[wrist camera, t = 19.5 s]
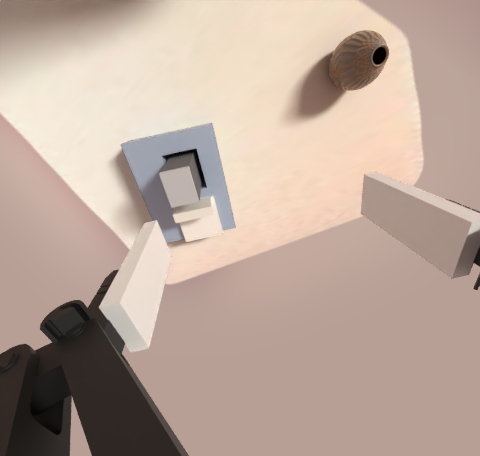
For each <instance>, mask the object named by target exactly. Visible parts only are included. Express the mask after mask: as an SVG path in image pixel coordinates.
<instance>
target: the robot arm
mask: <svg viewBox="0 0 480 456" xmlns="http://www.w3.org/2000/svg"><path fill="white" fill-rule="evenodd" d="M361 214H362V215H364V216H365V217H366V218H368V219H369V220H371V221H372V222H373V223H375V224H376V225H378V226H379V227H380V228H382V229H383V230H385V231H386V232H387V233H389V234H390V235H392V236H393V237H394V238H396V239H397V240H399V241H400V242H401V243H403V244H404V245H405V246H407V247H408V248H410V249H411V250H412V251H414V252H415V253H417V254H418V255H420V256H421V257H422V258H424V259H425V260H426V261H428V262H429V263H431V264H432V265H433V266H435V267H436V268H438V269H439V270H440V271H442V272H443V273H445V274H446V275H447V276H449V277H450V278H456V277H461V276H465V275H469V273H470V271H471V268H472V266H473V263H475V264H477V265H478V266H480V212H479V211H476V210H474V209H470V208H469V207H466V206H464V205H463V206H462V205H461V204H459V203H456V202H454V201H451V200H447V199H443V198H440V197H438V196H436V195H433V194H431V193H428V192H426V191H423V190H421V189H418V188H416V187H413V186H411V185H408V184H406V183H403V182H401V181H398V180H396V179H393V178H391V177H388V176H386V175H384V174H381V173H379V172H372V173H367V174H364V182H363V193H362V205H361ZM171 257H172V255H171V253H170V251H169V248H168V246H167V243H166V241H165V239H164V236H163V234H162V231H161V229H160V227H159V224H158V222H157V220H155V221H151V222H146V223H144V225H143V227H142V229H141V230H140V232H139V234H138V236H137V238H136V240H135V241H134V243H133V245H132V247H131V249H130V251H129V253H128V254H127V256H126V258H125V260H124V262H123V264H122V265H121V267H120V269H119V270H115V271H113V272H112V273H111V274H110V275H109V276H108V277H106V278H105V280H104V282H103V283H102V285H101V286H100V287H101V288H100V289H99V290H98V292H97V295H95V297H94V298H93V300H92V302H91V304H90V305H89V307H88V308H87V307H86V306H85V304H84V303H83V302H82V301H80V300H74V301H70V302H67V303H65V304H63V305H61V306H59V307H57V308H56V309H55V310H53V311H52V312H50V313H49V314H48V315H47V316H46V317H45V318H44V320H43V321H42V323H41V325H40V330H41V331H42V332H43V333H44V334H45V335H46V336H47V337H48V338H49V339H50V340H51V341H52V343H50V344H48V345H46V346H44V347H42V348H40V349H37V350H35V351H34V350H33V349H32V348H31V347H30V346H29V345H27V344H22V345H17V346H15V347H12V348H10V349H9V350H7V351H5V352H3V353H2V354H0V456H70V428H71V427H70V426H71V398H72V397H73V400H74V403H75V406H76V409H77V412H78V415H79V418H80V421H81V424H82V427H83V430H84V433H85V436H86V439H87V442H88V445H89V448H90V451H91V454H92V456H189V455H188V454H187V452H186V451H185V449H184V448H183V446H182V445H181V443H180V442H179V440H178V438H177V437H176V435H175V434H174V432H173V431H172V429H171V428H170V426H169V425H168V423H167V422H166V420H165V419H164V417H163V416H162V414H161V412H160V411H159V409H158V408H157V406H156V405H155V403H154V402H153V400H152V399H151V397H150V396H149V394H148V393H147V391H146V390H145V388H144V386H143V385H142V383H141V382H140V380H139V379H138V377H137V376H136V374H135V373H134V371H133V370H132V368H131V367H130V365H129V364H128V362H127V360H126V359H125V358H124V356H123V355H122V351H123V348H124V345H126V346H127V348H128V349H129V350H130V352H135V351H139V350H143V349H148V348H149V346H150V342H151V338H152V333H153V330H154V326H155V322H156V317H157V314H158V310H159V305H160V301H161V297H162V293H163V289H164V285H165V281H166V277H167V273H168V269H169V265H170V261H171ZM479 286H480V274H479V276H478V278H477V281H476V283H475V286H474V289H475V290H477V289H478V287H479Z"/></svg>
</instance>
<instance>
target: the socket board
mask: <svg viewBox="0 0 480 456" xmlns="http://www.w3.org/2000/svg"><path fill="white" fill-rule="evenodd" d="M121 147H122V149H123V152H124V154H125V156H126V159H127V161H128V163H129V166H130V168H131V170H132V173H133V175H134V177H135V180H136V182H137V185H138V187H139V189H140V192H141V194H142V196H143V199H144V201H145V203H146V206H147V208H148V210H149V213H150V215H151V217H152V220H153V221H155V220H157V222H158V224H159V227H160V229H161V231H162V234H163V236H164V239H165V241H166V243H169V242H173V241H178V240H182V239H185V237H184V234H183V232H182V229H181V226H180V223H175V220H174V217H173V212H174V207H173V208H171V205H170V202H169V200H168V197H167V194H166V192H165V189H164V186H163V183H162V181H161V178H160V175H159V171H160V170H161V168H162V167H163V166H164V164H165V163H166V162H167V160H168V156H167V155H168V154H172V153H177V152H182V151H186V150H191V149H195V148H196V149H197V152H198V156H199V160H200V163H201V167H202V171H203V174H204V178H205V181H204V182H202V183H201V194H200V198H202V197H206V196H211V195H214V199H215V203H216V206H217V210H218V214H219V218H220V222H221V226H222V230H227V229H232V228H236V226H235V222H234V217H233V213H232V208H231V204H230V200H229V195H228V191H227V186H226V182H225V177H224V173H223V168H222V164H221V160H220V155H219V151H218V146H217V142H216V137H215V133H214V129H213V124H212V123H210V124H205V125H200V126H196V127H191V128H186V129H182V130H177V131H173V132H168V133H163V134H159V135H154V136H150V137H145V138H140V139H136V140H131V141H128V142H125V143H123V144H121Z"/></svg>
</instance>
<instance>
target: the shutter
mask: <svg viewBox="0 0 480 456" xmlns="http://www.w3.org/2000/svg"><path fill="white" fill-rule="evenodd" d="M173 217H174V220H175V223H180V226H181V229H182V232H183V234H184V237H185V240H186V242H189V241H193V240H198V239H202V238H207V237H211V236H216V235H220V234H223V230H222V226H221V222H220V218H219V214H218V210H217V206H216V203H215V199H214V195H211V196H206V197H202V198H200V200H199V202H196V203H191V204H187V205H182V206H178V207H174V212H173Z"/></svg>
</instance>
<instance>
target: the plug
mask: <svg viewBox="0 0 480 456" xmlns="http://www.w3.org/2000/svg"><path fill="white" fill-rule="evenodd" d="M159 175H160V178H161V181H162V183H163V186H164V189H165V192H166V194H167V197H168V200H169V202H170V205H171V208H173V207H178V206H182V205H187V204H191V203H196V202H199V200H200V194H201V183H202V176H201V172H200V169H199V165H198V161H197V158H196V154H195V151H194V150H191V151H187V152H182V153H178V154H173V155H171V156H170V158H169V159H168V160H167V162H166V163H165V164H164V166H163V167H162V168H161V170H160V171H159Z"/></svg>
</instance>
